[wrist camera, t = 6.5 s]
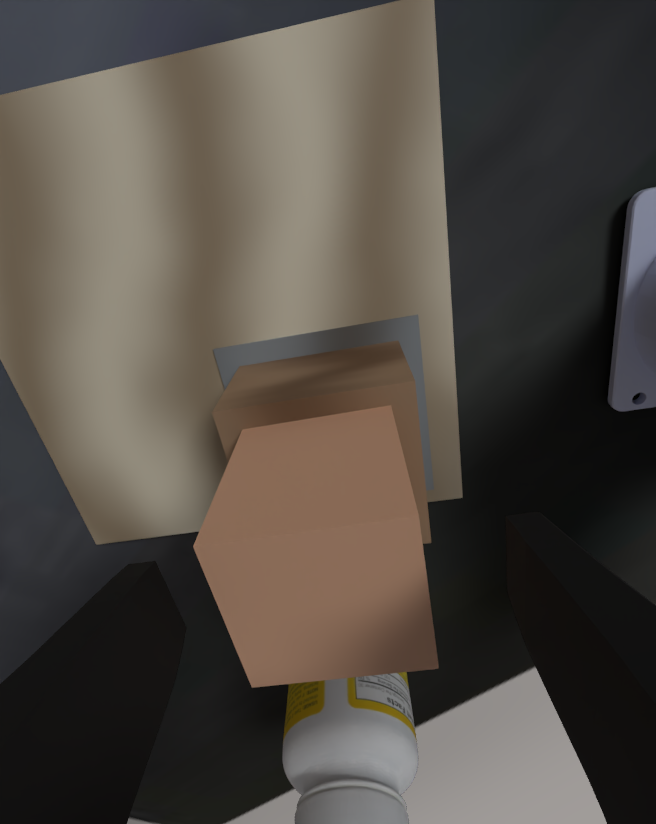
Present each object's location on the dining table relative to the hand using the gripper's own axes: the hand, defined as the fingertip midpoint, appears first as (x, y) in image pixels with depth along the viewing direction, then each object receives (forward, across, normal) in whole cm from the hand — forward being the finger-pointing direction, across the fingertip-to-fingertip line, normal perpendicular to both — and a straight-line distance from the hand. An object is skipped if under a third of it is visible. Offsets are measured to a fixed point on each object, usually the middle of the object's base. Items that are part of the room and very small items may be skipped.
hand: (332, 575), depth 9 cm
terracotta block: (+5, 0, +1) cm, 5 cm away
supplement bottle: (+10, +2, +13) cm, 16 cm away
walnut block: (+9, 0, +1) cm, 9 cm away
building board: (+10, +4, -3) cm, 11 cm away
